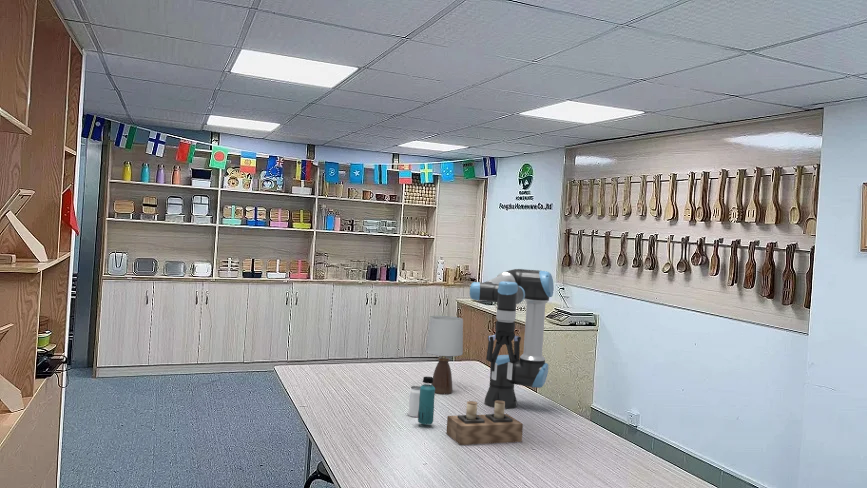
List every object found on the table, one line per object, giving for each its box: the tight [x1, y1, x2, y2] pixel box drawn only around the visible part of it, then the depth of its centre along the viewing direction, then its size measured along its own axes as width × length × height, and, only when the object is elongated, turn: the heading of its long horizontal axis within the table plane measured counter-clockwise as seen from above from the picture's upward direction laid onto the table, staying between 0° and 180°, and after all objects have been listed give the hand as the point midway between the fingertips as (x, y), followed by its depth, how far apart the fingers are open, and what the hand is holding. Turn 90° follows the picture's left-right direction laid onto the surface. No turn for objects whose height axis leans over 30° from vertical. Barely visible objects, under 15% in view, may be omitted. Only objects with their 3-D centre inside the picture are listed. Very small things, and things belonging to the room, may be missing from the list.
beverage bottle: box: [417, 376, 436, 425], centre depth 267 cm, size 6×7×20 cm
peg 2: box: [493, 400, 506, 419], centre depth 258 cm, size 4×4×8 cm
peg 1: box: [465, 400, 478, 420], centre depth 254 cm, size 4×4×8 cm
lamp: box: [425, 315, 464, 395], centre depth 327 cm, size 19×19×37 cm
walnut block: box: [445, 413, 524, 446], centre depth 256 cm, size 26×14×8 cm, turn 110°
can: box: [407, 385, 421, 418], centre depth 281 cm, size 6×6×12 cm
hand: (501, 379), depth 258 cm, fingers open, 6 cm apart
